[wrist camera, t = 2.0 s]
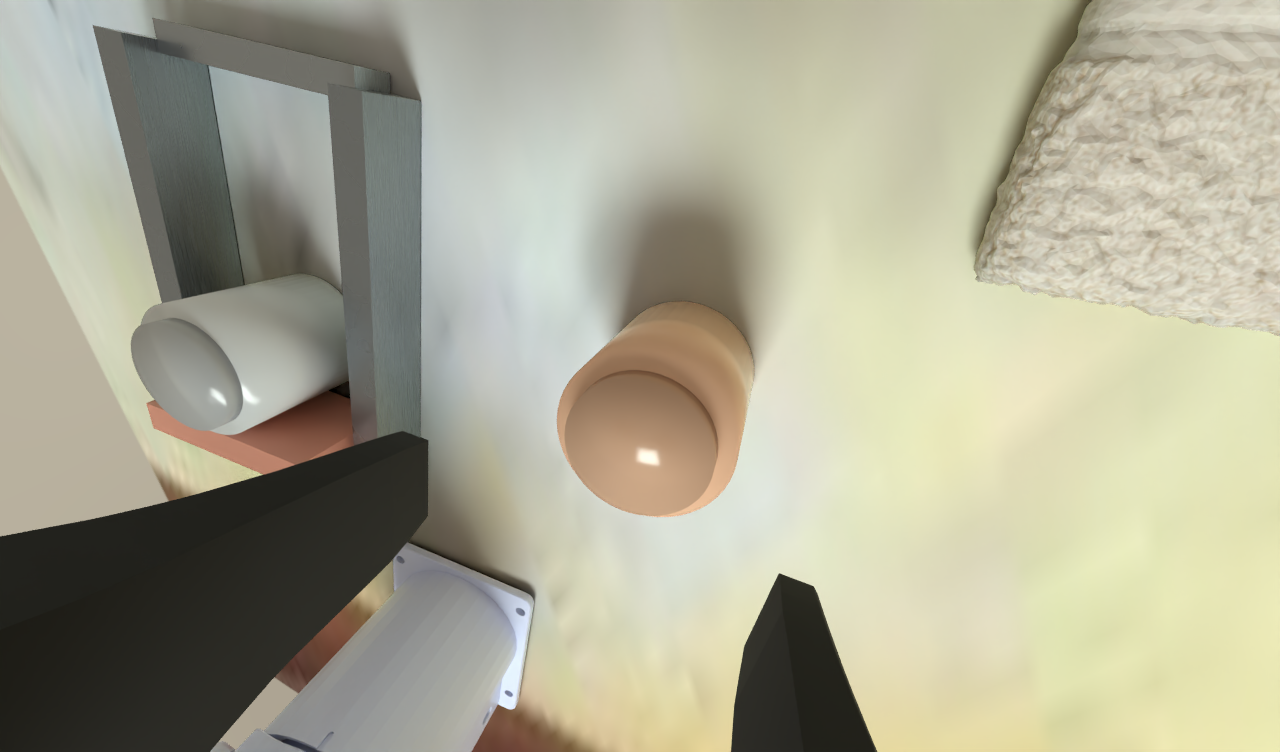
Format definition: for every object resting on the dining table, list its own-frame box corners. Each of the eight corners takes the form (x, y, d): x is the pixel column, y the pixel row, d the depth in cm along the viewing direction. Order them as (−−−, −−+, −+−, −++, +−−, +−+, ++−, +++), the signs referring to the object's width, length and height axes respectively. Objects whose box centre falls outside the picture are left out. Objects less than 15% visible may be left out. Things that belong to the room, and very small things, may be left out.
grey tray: (419, 478, 23) (380, 511, 21) (247, 410, 25) (194, 433, 23) (421, 80, 16) (360, 67, 14) (175, 22, 18) (87, 2, 16)
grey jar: (369, 395, 22) (247, 461, 17) (280, 362, 23) (140, 416, 18) (363, 292, 20) (222, 333, 15) (266, 260, 21) (101, 289, 16)
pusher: (388, 449, 23) (304, 507, 19) (260, 399, 24) (158, 445, 20) (386, 412, 22) (298, 466, 18) (254, 363, 23) (146, 402, 19)
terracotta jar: (730, 449, 18) (704, 556, 13) (605, 406, 19) (537, 492, 14) (773, 325, 16) (763, 398, 11) (630, 283, 17) (560, 333, 12)
